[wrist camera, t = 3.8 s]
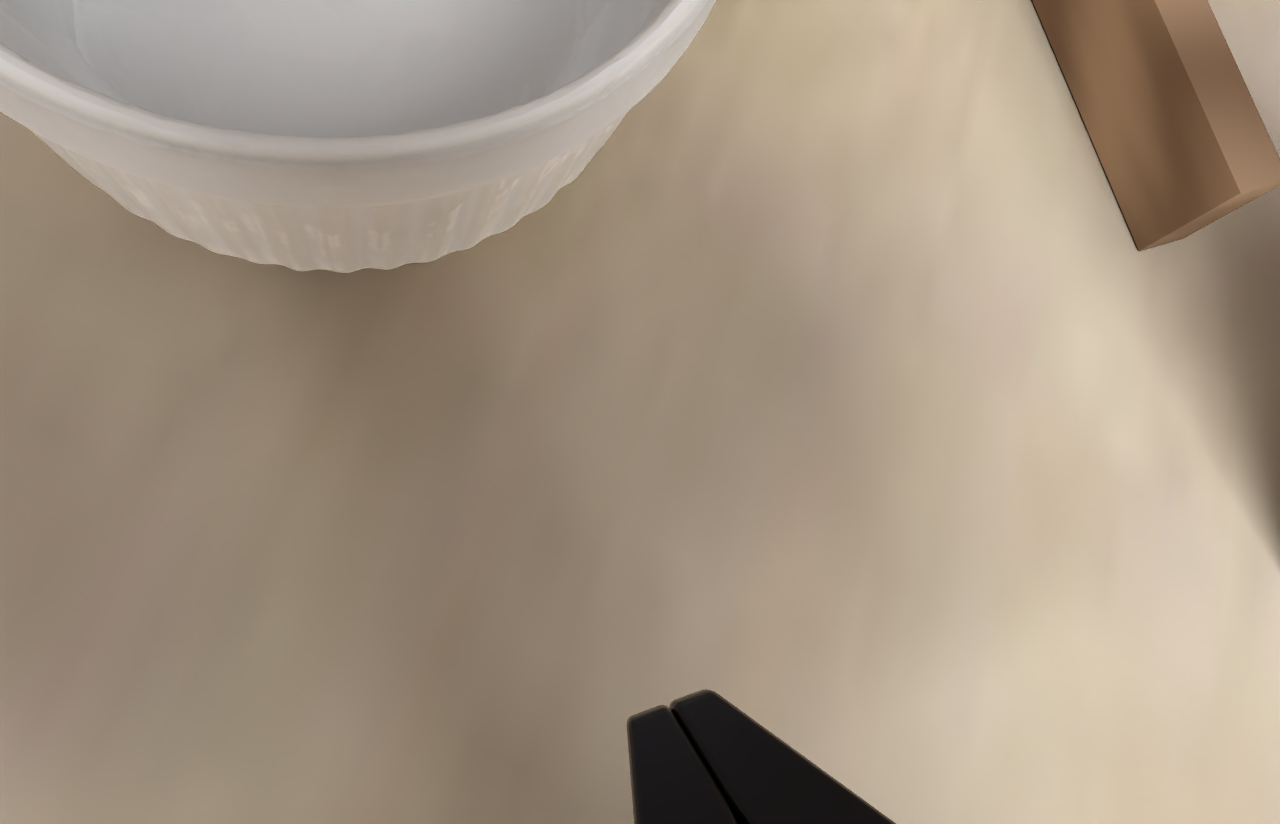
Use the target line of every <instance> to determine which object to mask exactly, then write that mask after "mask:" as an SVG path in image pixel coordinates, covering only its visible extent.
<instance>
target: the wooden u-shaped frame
mask: <svg viewBox="0 0 1280 824" xmlns="http://www.w3.org/2000/svg"><path fill="white" fill-rule="evenodd" d="M1032 1H1033V4H1034V6H1035V8H1036V11H1037V13H1038V15H1039V18H1040V20H1041V22H1042V25H1043V27H1044V29H1045V32H1046V34H1047V36H1048V39H1049V41H1050V43H1051V46H1052V48H1053V50H1054V53H1055V55H1056V58H1057V60H1058V62H1059V65H1060V67H1061V69H1062V72H1063V74H1064V76H1065V79H1066V81H1067V83H1068V86H1069V88H1070V90H1071V93H1072V95H1073V97H1074V100H1075V102H1076V104H1077V107H1078V109H1079V112H1080V114H1081V116H1082V119H1083V121H1084V123H1085V126H1086V128H1087V130H1088V133H1089V135H1090V137H1091V140H1092V142H1093V144H1094V147H1095V149H1096V151H1097V154H1098V156H1099V159H1100V161H1101V163H1102V166H1103V168H1104V170H1105V173H1106V175H1107V177H1108V180H1109V182H1110V184H1111V187H1112V189H1113V191H1114V194H1115V196H1116V198H1117V201H1118V203H1119V205H1120V208H1121V210H1122V213H1123V215H1124V217H1125V220H1126V222H1127V224H1128V227H1129V229H1130V231H1131V234H1132V236H1133V238H1134V241H1135V243H1136V245H1137V248H1138V250H1139V251H1141V250H1145V249H1148V248H1152V247H1155V246H1159V245H1162V244H1166V243H1169V242H1173V241H1176V240H1180V239H1183V238H1185V237H1187V236H1188V235H1190V234H1192V233H1194V232H1196V231H1197V230H1199V229H1201V228H1203V227H1205V226H1206V225H1208V224H1210V223H1212V222H1214V221H1215V220H1217V219H1219V218H1221V217H1223V216H1224V215H1226V214H1228V213H1230V212H1232V211H1233V210H1235V209H1237V208H1239V207H1241V206H1243V205H1244V204H1246V203H1248V202H1250V201H1252V200H1253V199H1255V198H1257V197H1259V196H1261V195H1262V194H1264V193H1266V192H1268V191H1270V190H1271V189H1273V188H1275V187H1277V186H1279V185H1280V159H1279V156H1278V154H1277V152H1276V150H1275V148H1274V146H1273V143H1272V141H1271V139H1270V137H1269V135H1268V132H1267V130H1266V128H1265V126H1264V124H1263V121H1262V119H1261V117H1260V115H1259V113H1258V110H1257V108H1256V106H1255V104H1254V102H1253V99H1252V97H1251V95H1250V93H1249V91H1248V88H1247V86H1246V84H1245V82H1244V80H1243V77H1242V75H1241V73H1240V71H1239V69H1238V66H1237V64H1236V62H1235V60H1234V58H1233V56H1232V53H1231V51H1230V49H1229V47H1228V45H1227V42H1226V40H1225V38H1224V36H1223V34H1222V31H1221V29H1220V27H1219V25H1218V23H1217V20H1216V18H1215V16H1214V14H1213V12H1212V9H1211V7H1210V5H1209V3H1208V1H1207V0H1032Z"/></svg>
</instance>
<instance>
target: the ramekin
mask: <svg viewBox="0 0 1280 824" xmlns="http://www.w3.org/2000/svg"><path fill="white" fill-rule="evenodd" d="M715 2H716V0H0V112H1V113H3V114H5V115H6V116H8V117H10V118H11V119H13V120H15V121H16V122H18V123H20V124H21V125H23V126H25V127H26V128H28V129H30V130H31V131H32V132H33V133H34V134H35V135H36V136H37V137H38V138H40V139H41V140H42V141H43V142H44V143H45V144H46V145H47V146H49V147H50V148H51V149H52V150H53V151H54V152H55V153H57V154H58V155H59V156H60V157H61V158H62V159H63V160H64V161H66V162H67V163H68V164H69V165H70V166H71V167H72V168H74V169H75V170H76V171H77V172H78V173H80V174H81V175H82V176H83V177H85V178H86V179H87V180H89V181H90V182H91V183H92V184H94V185H95V186H96V187H98V188H100V189H101V190H103V191H105V192H106V193H107V194H108V195H109V196H111V197H112V198H113V199H114V200H115V201H117V202H118V203H119V204H120V205H121V206H123V207H124V208H125V209H126V210H128V211H129V212H131V213H133V214H135V215H137V216H139V217H142V218H144V219H147V220H150V221H153V222H154V223H155V224H157V225H158V226H159V227H161V228H162V229H163V230H165V231H166V232H167V233H169V234H171V235H174V236H176V237H178V238H180V239H184V240H189V241H193V242H195V243H197V244H199V245H201V246H202V247H204V248H206V249H208V250H210V251H211V252H213V253H217V254H222V255H229V256H233V257H238V258H242V259H244V260H247V261H249V262H252V263H257V264H277V265H283V266H285V267H287V268H290V269H292V270H295V271H310V270H316V269H322V270H330V271H334V272H338V273H351V272H354V271H357V270H360V269H365V268H374V269H383V270H390V269H394V268H397V267H400V266H402V265H404V264H409V263H427V262H431V261H434V260H437V259H439V258H441V257H442V256H444V255H446V254H449V253H452V252H455V251H462V250H467V249H470V248H472V247H474V246H475V245H476V244H478V243H479V242H480V241H481V240H483V239H485V238H486V237H488V236H491V235H495V234H499V233H502V232H504V231H506V230H508V229H510V228H511V227H513V226H514V225H515V224H516V223H517V222H518V221H519V220H520V219H521V218H522V217H524V216H526V215H528V214H530V213H532V212H535V211H537V210H539V209H541V208H542V207H544V206H545V205H546V204H547V203H548V202H549V201H550V200H551V199H552V198H553V197H554V195H555V194H556V192H557V191H558V190H559V189H560V188H562V187H564V186H566V185H568V184H570V183H571V182H572V181H574V180H575V179H576V178H577V177H578V176H579V174H580V173H581V172H582V171H583V170H584V168H585V167H586V166H587V164H588V163H589V162H590V160H591V159H592V158H593V156H594V155H595V154H596V153H597V152H598V151H599V150H600V148H601V147H602V146H603V145H604V144H605V143H606V142H607V140H608V139H609V138H610V136H611V135H612V134H613V132H614V131H615V130H616V128H617V127H618V125H619V124H620V123H621V121H622V120H623V118H624V117H625V116H626V114H627V113H628V111H629V110H630V109H631V108H633V107H634V106H635V105H636V104H637V103H638V102H639V101H640V100H641V99H643V98H644V97H645V96H646V95H647V94H648V93H649V92H650V91H651V90H652V89H653V88H654V87H655V86H656V85H657V84H658V83H659V82H660V81H661V80H662V79H663V78H664V77H665V76H666V75H667V74H668V72H669V71H670V70H671V69H672V67H673V66H674V65H675V64H676V62H677V61H678V60H679V58H680V57H681V56H682V55H683V53H684V52H685V51H686V49H687V48H688V47H689V46H690V44H691V42H692V41H693V39H694V38H695V36H696V35H697V33H698V32H699V30H700V28H701V27H702V25H703V24H704V22H705V21H706V19H707V17H708V15H709V13H710V11H711V9H712V7H713V6H714V4H715Z"/></svg>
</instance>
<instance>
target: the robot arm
mask: <svg viewBox="0 0 1280 824" xmlns="http://www.w3.org/2000/svg"><path fill="white" fill-rule="evenodd" d="M627 736H628V749H629V761H630V774H631V787H632V799H633V812H634V824H896V823H894V822H893V821H892V820H890V819H889V818H888V817H886V816H885V815H883V814H882V813H881V812H879V811H878V810H877V809H875V808H874V807H872V806H871V805H870V804H868V803H867V802H866V801H864V800H863V799H861V798H860V797H859V796H857V795H856V794H855V793H853V792H852V791H850V790H849V789H848V788H846V787H845V786H844V785H842V784H841V783H839V782H838V781H837V780H835V779H834V778H833V777H831V776H830V775H829V774H827V773H826V772H824V771H823V770H822V769H820V768H819V767H818V766H816V765H815V764H813V763H812V762H811V761H809V760H808V759H807V758H805V757H804V756H802V755H801V754H800V753H798V752H797V751H796V750H794V749H793V748H791V747H790V746H789V745H787V744H786V743H785V742H783V741H782V740H780V739H779V738H778V737H776V736H775V735H774V734H772V733H771V732H769V731H768V730H767V729H765V728H764V727H763V726H761V725H760V724H758V723H757V722H756V721H754V720H753V719H752V718H750V717H749V716H747V715H746V714H745V713H743V712H742V711H741V710H739V709H738V708H736V707H735V706H734V705H732V704H731V703H730V702H728V701H727V700H725V699H724V698H723V697H721V696H720V695H719V694H717V693H716V692H714V691H712V690H707V689H705V690H700V691H698V692H695V693H692V694H690V695H687V696H684V697H681V698H679V699H676V700H674V701H672V702H671V704H670V706H669V708H668V707H667V706H664V705H660V706H657V707H654V708H651V709H649V710H646V711H643V712H641V713H638V714H635V715H632V716H631V717H629V719H628V721H627Z"/></svg>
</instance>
